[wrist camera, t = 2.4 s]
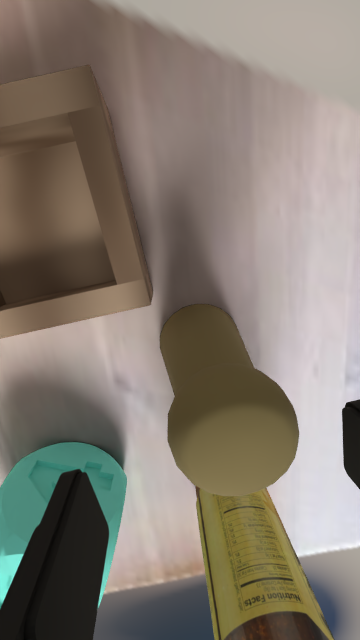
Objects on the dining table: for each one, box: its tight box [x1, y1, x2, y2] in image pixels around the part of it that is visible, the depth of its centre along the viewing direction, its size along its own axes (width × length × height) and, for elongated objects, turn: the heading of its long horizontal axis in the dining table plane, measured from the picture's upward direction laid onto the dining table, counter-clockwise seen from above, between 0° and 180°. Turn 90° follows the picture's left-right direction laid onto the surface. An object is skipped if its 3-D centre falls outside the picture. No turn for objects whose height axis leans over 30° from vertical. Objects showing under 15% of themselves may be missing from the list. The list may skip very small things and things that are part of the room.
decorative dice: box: [0, 442, 127, 608], centre depth 19 cm, size 8×8×8 cm
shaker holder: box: [0, 65, 153, 339], centre depth 15 cm, size 11×11×4 cm
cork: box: [160, 304, 299, 496], centre depth 14 cm, size 6×6×11 cm
